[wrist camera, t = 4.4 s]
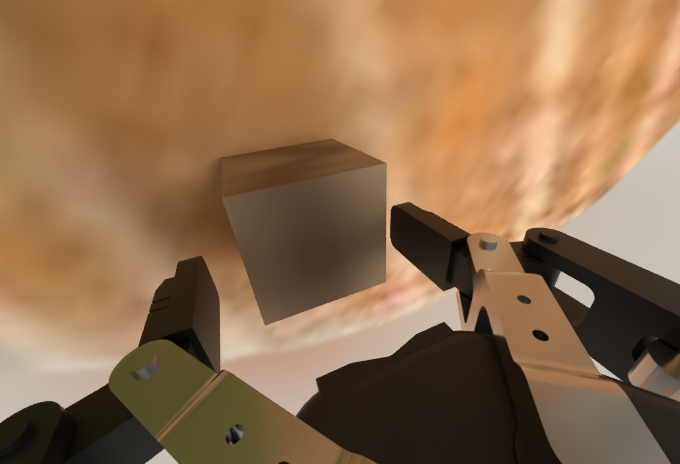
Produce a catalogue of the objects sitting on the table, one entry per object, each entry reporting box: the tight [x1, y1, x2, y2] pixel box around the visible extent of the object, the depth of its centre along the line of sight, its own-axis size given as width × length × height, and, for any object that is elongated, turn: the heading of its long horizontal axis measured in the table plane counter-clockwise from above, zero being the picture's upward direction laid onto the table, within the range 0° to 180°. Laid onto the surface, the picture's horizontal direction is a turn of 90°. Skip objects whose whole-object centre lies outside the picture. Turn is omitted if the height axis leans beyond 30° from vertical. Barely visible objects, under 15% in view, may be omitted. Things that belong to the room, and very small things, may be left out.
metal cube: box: [221, 139, 386, 325], centre depth 13 cm, size 6×6×6 cm
